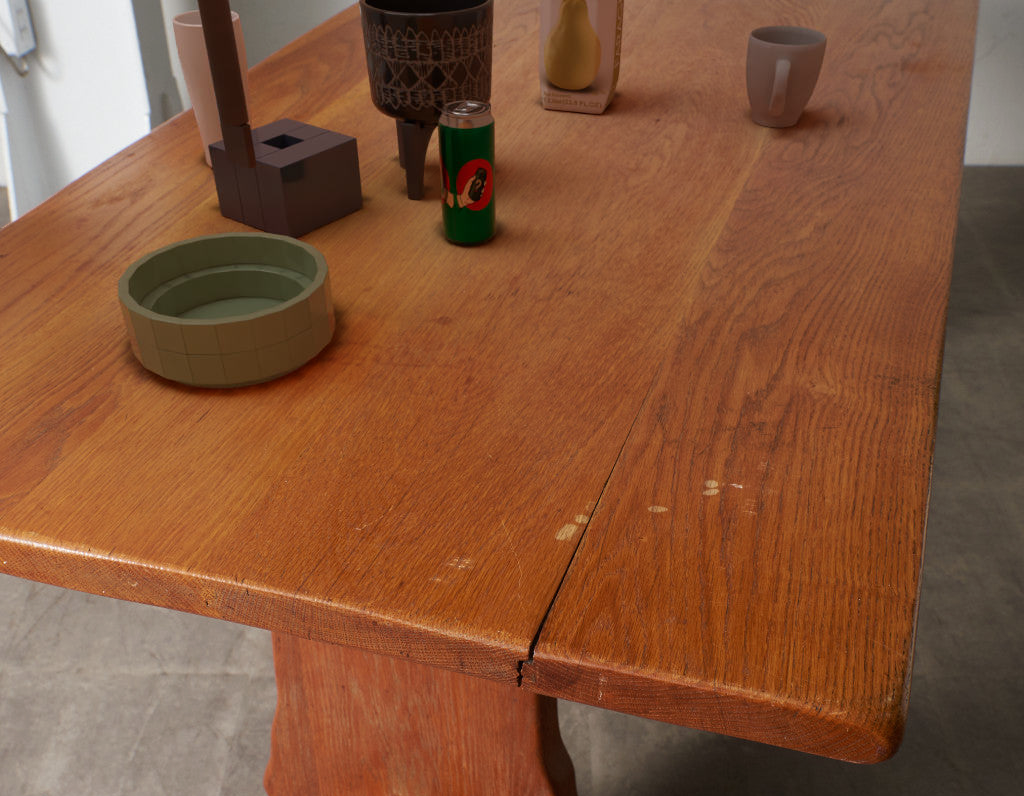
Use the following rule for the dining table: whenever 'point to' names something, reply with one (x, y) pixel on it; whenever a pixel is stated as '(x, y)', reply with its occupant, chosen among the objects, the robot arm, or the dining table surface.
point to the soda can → (467, 172)
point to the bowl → (228, 308)
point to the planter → (425, 67)
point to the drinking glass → (205, 74)
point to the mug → (782, 72)
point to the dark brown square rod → (227, 81)
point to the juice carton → (579, 53)
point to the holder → (290, 179)
